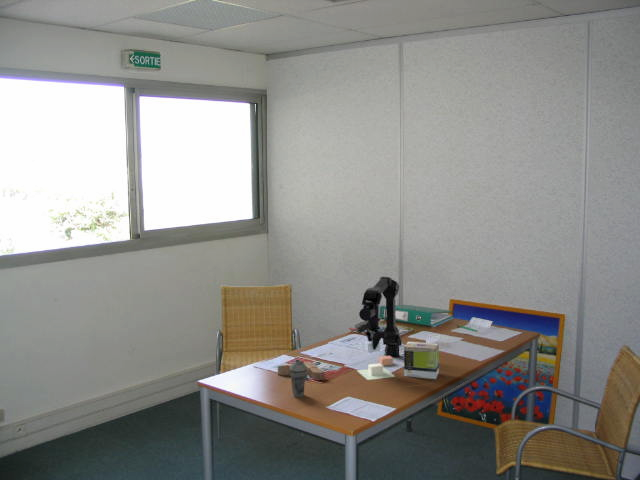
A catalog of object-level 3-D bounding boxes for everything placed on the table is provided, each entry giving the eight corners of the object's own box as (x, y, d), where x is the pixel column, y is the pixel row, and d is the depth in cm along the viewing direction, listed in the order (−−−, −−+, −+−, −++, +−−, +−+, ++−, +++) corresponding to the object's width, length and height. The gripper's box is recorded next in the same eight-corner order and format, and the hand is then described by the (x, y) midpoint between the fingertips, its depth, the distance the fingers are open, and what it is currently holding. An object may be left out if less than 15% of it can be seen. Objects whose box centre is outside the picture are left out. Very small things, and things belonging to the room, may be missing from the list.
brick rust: (389, 363, 313) (389, 355, 313) (393, 365, 310) (393, 357, 309) (378, 364, 312) (378, 356, 311) (381, 367, 308) (381, 359, 307)
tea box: (439, 373, 298) (439, 342, 296) (435, 380, 288) (436, 348, 287) (407, 370, 303) (407, 340, 301) (403, 376, 293) (403, 346, 292)
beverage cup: (289, 392, 275) (288, 348, 272) (306, 391, 275) (305, 347, 273) (290, 398, 267) (289, 353, 265) (307, 398, 268) (306, 352, 266)
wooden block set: (309, 358, 306) (325, 369, 289) (309, 369, 306) (325, 381, 290) (276, 363, 298) (291, 375, 282) (277, 375, 299) (291, 387, 283)
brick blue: (376, 348, 300) (377, 340, 299) (379, 351, 296) (379, 342, 295) (365, 349, 298) (365, 341, 298) (367, 352, 294) (367, 343, 294)
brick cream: (379, 371, 300) (379, 363, 299) (383, 374, 296) (383, 365, 296) (368, 372, 298) (368, 364, 298) (371, 375, 294) (371, 367, 294)
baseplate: (383, 368, 306) (383, 367, 306) (395, 377, 293) (395, 376, 293) (356, 371, 302) (356, 370, 302) (367, 380, 288) (367, 379, 288)
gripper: (350, 312, 302) (350, 344, 304) (363, 321, 284) (363, 355, 286) (371, 311, 305) (371, 342, 307) (386, 320, 287) (386, 353, 289)
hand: (372, 348), depth 297 cm, fingers closed on brick blue, 4 cm apart
